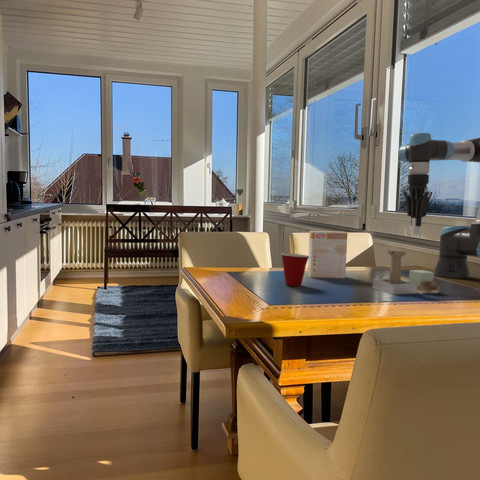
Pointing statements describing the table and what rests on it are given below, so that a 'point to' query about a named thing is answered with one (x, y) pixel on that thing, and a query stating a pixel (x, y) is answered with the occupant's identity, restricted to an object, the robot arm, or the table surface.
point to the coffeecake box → (327, 254)
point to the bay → (423, 286)
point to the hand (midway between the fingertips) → (415, 234)
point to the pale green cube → (420, 276)
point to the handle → (395, 265)
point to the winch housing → (395, 287)
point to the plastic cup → (294, 268)
